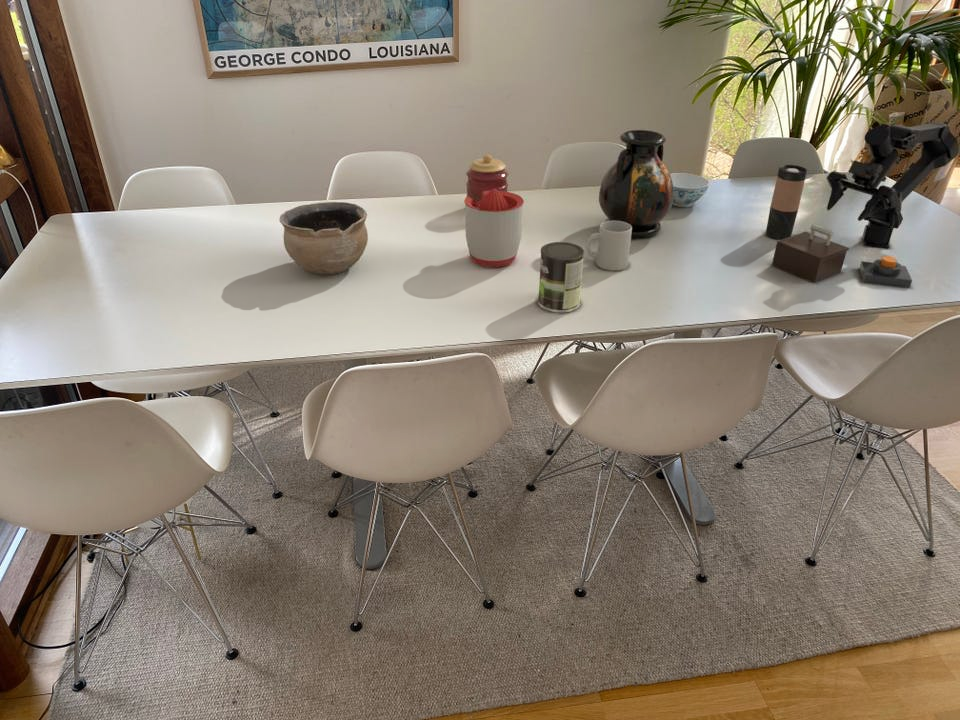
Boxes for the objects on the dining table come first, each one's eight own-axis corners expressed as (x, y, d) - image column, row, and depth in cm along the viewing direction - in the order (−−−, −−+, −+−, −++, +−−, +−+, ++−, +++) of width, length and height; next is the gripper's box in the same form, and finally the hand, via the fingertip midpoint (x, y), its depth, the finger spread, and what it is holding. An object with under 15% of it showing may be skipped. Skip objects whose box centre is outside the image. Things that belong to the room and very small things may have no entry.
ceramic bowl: (299, 291, 193) (292, 235, 185) (276, 259, 210) (269, 207, 202) (382, 275, 202) (379, 220, 194) (354, 245, 219) (350, 194, 211)
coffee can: (541, 313, 184) (544, 259, 177) (535, 294, 193) (537, 242, 186) (583, 312, 185) (588, 258, 178) (575, 293, 194) (579, 241, 187)
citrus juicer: (488, 241, 222) (489, 173, 211) (533, 259, 211) (536, 189, 201) (448, 257, 212) (447, 186, 202) (493, 276, 202) (494, 203, 191)
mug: (620, 256, 213) (624, 219, 208) (632, 269, 206) (637, 230, 201) (579, 260, 211) (582, 222, 205) (590, 273, 204) (594, 234, 198)
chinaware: (710, 212, 244) (714, 188, 240) (662, 211, 244) (666, 187, 240) (699, 196, 256) (703, 173, 252) (654, 195, 256) (657, 172, 252)
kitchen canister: (514, 207, 245) (516, 152, 236) (493, 220, 236) (494, 163, 227) (480, 199, 251) (480, 145, 242) (458, 211, 242) (457, 156, 233)
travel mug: (793, 241, 224) (809, 173, 214) (766, 238, 225) (780, 171, 215) (789, 231, 230) (805, 165, 220) (763, 229, 232) (777, 163, 221)
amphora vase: (637, 249, 218) (649, 151, 203) (581, 227, 232) (588, 133, 217) (683, 230, 230) (698, 136, 215) (627, 211, 244) (637, 121, 229)
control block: (903, 273, 206) (907, 259, 204) (909, 288, 198) (914, 273, 196) (859, 268, 208) (863, 255, 206) (863, 282, 201) (867, 268, 199)
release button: (893, 263, 202) (896, 257, 201) (896, 269, 199) (898, 262, 198) (879, 261, 203) (881, 255, 202) (881, 267, 200) (883, 260, 199)
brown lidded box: (797, 255, 215) (803, 234, 212) (840, 272, 206) (846, 251, 202) (771, 265, 210) (776, 243, 206) (814, 283, 200) (820, 260, 197)
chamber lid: (804, 233, 212) (809, 216, 210) (848, 250, 203) (853, 232, 200) (776, 243, 206) (780, 226, 204) (820, 260, 197) (824, 242, 194)
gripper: (839, 140, 207) (804, 188, 207) (905, 158, 193) (868, 208, 194) (849, 164, 214) (815, 210, 215) (913, 183, 201) (877, 231, 202)
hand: (842, 214), depth 206 cm, fingers open, 9 cm apart
